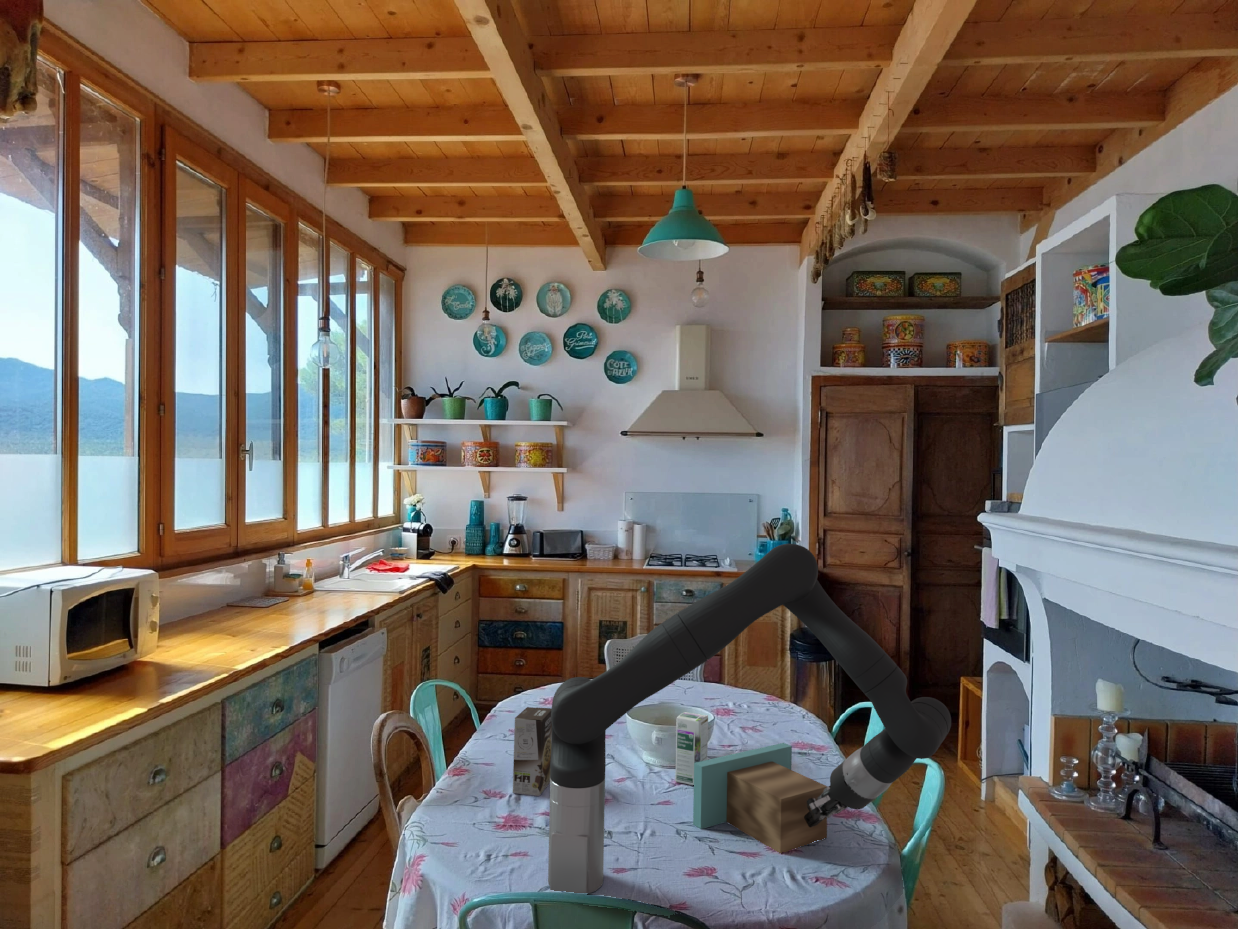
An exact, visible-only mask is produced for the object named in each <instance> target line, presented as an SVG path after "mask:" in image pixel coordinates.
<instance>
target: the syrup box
mask: <svg viewBox="0 0 1238 929" xmlns="http://www.w3.org/2000/svg"><path fill="white" fill-rule="evenodd" d="M675 722H676V725H675V726H676V727H675V772H674V773H675V775H674V776H675V777H674V781H676V782H675V783H681V784H686V785H690V786H693V785H694V763H696V762H700V761H705V760H708V746H709V745H708V741H709V740H708V736H709V734H708V733H709V714H708V715H707V714H699V713H695V712H694V713H693V712H689V711H685V712H682V713H680V714H679V715H678V716H677V717H676V720H675Z"/></svg>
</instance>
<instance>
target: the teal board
mask: <svg viewBox="0 0 1238 929" xmlns="http://www.w3.org/2000/svg"><path fill="white" fill-rule="evenodd" d="M792 748H793V746H792V745H790V744H788V743H785V742H781V743H775V744H772V745H767V746H763V747H758V748H753V749H749V750H745V751H740V752H737V753H733V754H727V755H722V756H718V757H714V758H710V759H707V760H705V761H700V762H696V763H694V786H693V804H692V805H693V807H692V809H693V810H692V811H693V814H692V815H693V816H692V825H693V826H695V828H696V827H697V828H698V829H700V830H702V829H707V828H710V827H713V826H717V825H721V824H724V823H727V772H730V771H734V770H738V769H742V768H746V767H751V766H755V765H759V764H763V763H767V762H775V763H777V764H779V765H781V766H783V767H786V768H788V769H790V770H792V763H793V762H792V756H793V755H792V752H793V749H792Z"/></svg>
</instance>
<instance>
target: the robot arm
mask: <svg viewBox="0 0 1238 929" xmlns="http://www.w3.org/2000/svg"><path fill="white" fill-rule="evenodd" d="M818 575H819V567H818V562H817V559H816V557H815V556H814V554H813V553H812V552H811V551H810V550H809V549H808V548H807V547H805V546H802V545H799V544H795V543H784V544H780V545H777V546H776V547H773V548H772V549H771V550H770V551H768V552H767V553H766V554H765V555H763V557H762V558H760V559H759V560H758V561H757V562H756V563H754V564H753V565H752V566H750V567H749V568H747V570H746V571H744V572H743V573H742V574H741V575H739V576H738V577H737V578H735V579H734V580H732V581H731V582H729V583H728V584H726V585H725V586H723V587H722V588H719V589H717V590H715V591H714V592H711V593H710V594H707V595H706V596H703V597H702V598H701V599H698V600H696V601H695V602H693V603H691V604H689V605H688V606H686V607H684V608H683V609H681V610H680V611H678V612H676V613H675V614H673V615H672V616H670V617H669V618H667V619H666V620H664V621H663V622H661V623H660V624H659V625H657V626H655V627H654V628H653V629H651V631H649V632H648V633H647V634H646V635H644V637H642V639H641V640H640V641H639V642H638V643H637V644H636V645H635V646H634V647H633V648H632V649H630V651H629V652H628V653H627V654H626V655H625V656H624V657H623V658H622V659H621V660H619V662H617V663H616V664H615V665H613V666H612V667H610V668H609V669H608V670H606V671H605V672H603V673H601V674H599V675H598V676H596V677H594V678H592V679H590V678H588V677H584V676H583V677H582V676H575V677H572V678H568V679H566V680H565V681H564V682H562V683H561V684H560V685H559V686H558V687H557V689H556V691H555V692H554V694H553V697H552V703H551V708H552V709H551V722H552V743H551V762H550V783H549V785H550V786H549V814H548V815H549V818H548V820H549V822H548V823H549V826H548V862H547V863H548V866H547V867H548V871H547V874H548V876H547V882H548V885H549V891H550V890H554V891H566V892H574V893H589V894H592V893H593V892H596V891H598V890H599V889H600V888H601V887H602V885H603V883H604V861H605V860H604V859H605V858H604V857H605V856H604V855H605V854H604V852H605V846H604V845H605V807H606V806H605V805H606V804H605V803H606V802H605V801H606V766H607V764H606V762H607V760H606V755H607V754H606V732H607V730H608V729H609V728H610V727H611V726H613V724H615V723H616V722H617V721H618V720H619V719H621V718H622V717H623V716H624V715H625V714H627V713H628V712H629V711H630V710H632V709H633V708H634V707H636V706H637V705H639V704H640V703H641V702H643V701H644V700H646V699H648V698H650V697H652V696H653V695H655V694H656V693H658V692H660V691H662V690H663V689H665V688H667V687H668V686H670V685H671V684H673V683H674V682H676V681H678V680H679V679H681V678H683V677H684V676H685V675H688V674H689V673H690V672H692V671H693V670H695V669H697V668H699V667H700V666H701V665H703V664H704V663H706V662H707V661H708V660H710V659H712V658H713V657H714V656H716V655H717V654H718V653H720V652H721V651H723V650H724V649H725V648H726V647H727V646H728V645H729V644H730V643H732V642H733V641H734V640H735V639H736V638H737V637H738V636H739V635H740V634H741V633H743V632H744V631H745V630H746V629H747V628H748V627H750V625H751V624H753V623H755V622H756V621H757V620H758V619H760V618H762V617H763V616H765V615H767V614H768V613H770V612H772V611H774V610H776V609H777V608H779V607H781V606H783V607H785V608H786V609H787V610H788V611H789V612H791V613H792V615H794V616H795V617H796V618H797V619H798V620H799V621H800V622H801V623H802V624H803V625H804V626H806V628H807V629H809V630H810V632H811V633H812V634H813V635H814V636H815V638H817V639H818V640H819V641H820V643H821V644H822V645H823V646H824V647H825V648H826V650H827V651H828V653H829V654H831V656H832V657H833V659H835V661H836V663H838V665H840V666H841V668H842V669H843V670H844V671H845V673H846V674H847V675H848V677H850V679H851V680H852V682H854V683H855V685H856V686H857V687H858V688H859V689H860V690H861V692H863V694H864V695H865V696H866V697H867V698H868V699H869V701H870V702H871V704H872V706H873V708H874V710H875V712H876V714H877V716H878V718H879V720H880V721H881V723H882V725H883V727H884V729H882V730H881V731H880V732H879V733H877V734H875V735H874V736H873V737H872V738H871V739H870V740H869V741H868V742H866V743H865V744H864V745H863V746H861V747H860V748H858V749H857V750H855V751H854V752H853V753H851V754H850V755H849V756H848V757H846V759H844V760H843V761H842V762H841V763H840V764H838V765H837V766H836V767H835V768H834V769H833V770H832V771H831V773H830V777H829V785H828V786H827V788H825V789H824V792H823V793H822V794H821V795H820V796H819V797H818V798H817V801H816V799H815V798H814V799H813V798H809V799H808V800H807V808H808V810H809V812H808V813H807V814H806V815H805V816H804V819H805V821H806V823H807V824H808V826H809V827H813V826H816V825H818V824H819V823H820V822H821V821H822V820H824V819H825V818H827V819H828V818H830V817H831V816H833V815H839V814H840V813H841V812H843V811H844V810H845V809H847V808H849V809H852V810H861V809H864V808H865V807H867V806H868V805H869V804H870V803H872V802H873V801H875V799H877V798H879V796H880V795H882V794H883V793H884V792H886V791H887V790H888V789H889V788H890V787H891V785H892V784H893V783H894V782H895V781H897V780H898V779H899V778H900V777H902V776H903V775H904V774H905V773H906V772H908V771H909V769H910V768H911V767H912V766H913V765H914V763H915V762H916V760H917V759H920V760H924V759H928V758H931V757H932V756H934V755H935V754H936V752H937V751H938V749H939V748H940V746H941V745H942V743H943V742H944V740H945V739H946V738H947V736H948V734H949V733H950V730H951V727H952V717H951V713H950V711H949V709H948V707H947V706H946V705H945V704H944V703H943V702H942V701H940V700H938V699H936V698H935V697H931V696H930V697H929V696H921V697H917V698H915V699H913V700H912V701H911V700H910V698H909V696H908V694H907V685H908V679H907V676H906V674H905V673H904V672H903V671H902V669H901V668H900V667H899V666H898V665H897V663H896V662H895V661H894V659H893V658H891V656H890V655H889V654H888V653H887V652H886V650H884V649H883V647H881V646H880V645H879V644H878V643H877V642H876V641H875V639H874V638H872V637H871V635H869V634H868V633H867V632H866V631H865V630H863V629H862V628H861V627H860V626H859V625H858V624H856V622H854V621H853V620H852V619H851V618H850V617H848V616H847V614H845V612H843V611H842V610H841V609H840V608H839V607H838V605H836V603H835V602H834V600H832V598H831V597H830V596H829V595H828V594H827V592H826V591H825V589H824V588H823V587H822V585H821V584H820V581H819V580H818Z"/></svg>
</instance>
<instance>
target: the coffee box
mask: <svg viewBox="0 0 1238 929" xmlns="http://www.w3.org/2000/svg"><path fill="white" fill-rule="evenodd" d="M551 709H552V707H550V708H549V707H529V706H527V707H526V708H524V709H523V710H522V711H521V712H520V713H518V715H517V716H515V717H514V732H513V734H514V736H513V765H512V766H513V769H512V770H513V771H512V793H513V794H518V795H519V794H520V795H527V796H536V797H539V796H541V794H543V792H544V791H545V789H547V787H548V786H549V785H550V762H551V743H552V722H551Z"/></svg>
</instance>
